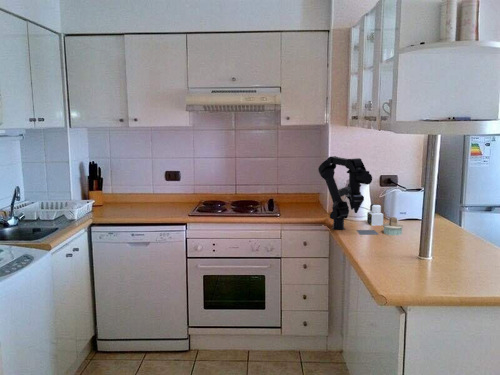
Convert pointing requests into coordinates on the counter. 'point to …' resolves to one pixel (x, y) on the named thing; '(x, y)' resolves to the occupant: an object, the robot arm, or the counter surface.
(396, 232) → the bowl
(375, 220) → the medicine bottle
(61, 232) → the counter surface
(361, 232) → the mat
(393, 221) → the lid
